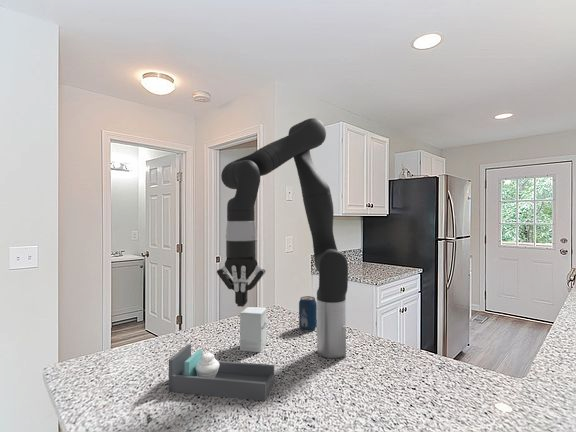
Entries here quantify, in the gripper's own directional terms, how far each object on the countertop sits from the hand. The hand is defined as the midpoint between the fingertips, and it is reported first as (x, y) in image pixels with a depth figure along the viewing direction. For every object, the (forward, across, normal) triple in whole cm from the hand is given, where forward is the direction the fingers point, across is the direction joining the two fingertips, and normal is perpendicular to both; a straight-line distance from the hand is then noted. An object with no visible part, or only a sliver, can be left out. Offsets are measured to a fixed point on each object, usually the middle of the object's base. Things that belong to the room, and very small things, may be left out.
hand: (241, 305), depth 83 cm
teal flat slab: (+20, +13, 0) cm, 24 cm away
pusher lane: (+21, +5, 0) cm, 22 cm away
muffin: (+20, +10, 0) cm, 22 cm away
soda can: (+21, -12, -46) cm, 52 cm away
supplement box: (+21, +4, -25) cm, 33 cm away
